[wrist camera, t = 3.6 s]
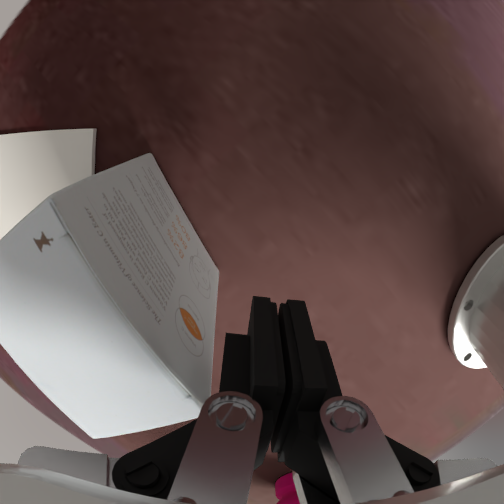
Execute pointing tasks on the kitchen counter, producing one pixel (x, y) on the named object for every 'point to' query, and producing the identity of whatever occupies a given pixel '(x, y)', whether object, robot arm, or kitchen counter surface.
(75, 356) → the small box
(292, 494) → the pepper mill
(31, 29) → the kitchen counter surface
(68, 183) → the mat
